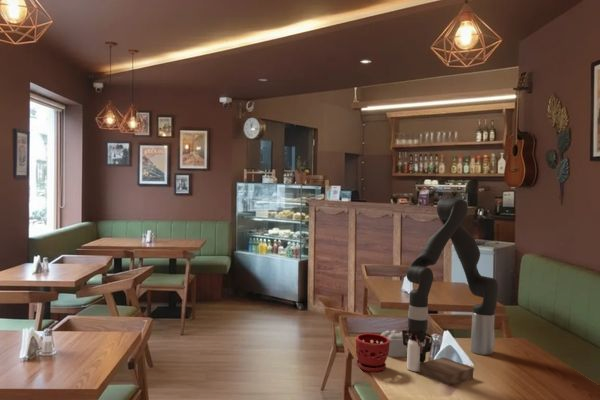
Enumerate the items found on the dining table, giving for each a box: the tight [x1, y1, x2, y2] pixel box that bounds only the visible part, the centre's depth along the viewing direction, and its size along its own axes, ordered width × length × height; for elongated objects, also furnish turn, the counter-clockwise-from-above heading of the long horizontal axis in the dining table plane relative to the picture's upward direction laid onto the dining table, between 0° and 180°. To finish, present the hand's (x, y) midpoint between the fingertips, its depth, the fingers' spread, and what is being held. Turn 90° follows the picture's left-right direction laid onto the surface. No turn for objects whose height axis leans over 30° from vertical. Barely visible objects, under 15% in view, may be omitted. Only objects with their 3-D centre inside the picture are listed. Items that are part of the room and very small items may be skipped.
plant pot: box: [355, 332, 390, 373], centre depth 208 cm, size 13×13×12 cm
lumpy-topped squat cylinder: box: [380, 329, 407, 358], centre depth 230 cm, size 10×13×9 cm
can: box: [406, 338, 424, 373], centre depth 209 cm, size 6×6×12 cm
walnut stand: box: [418, 356, 474, 386], centre depth 203 cm, size 14×14×4 cm
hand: (416, 359), depth 208 cm, fingers closed on can, 5 cm apart
